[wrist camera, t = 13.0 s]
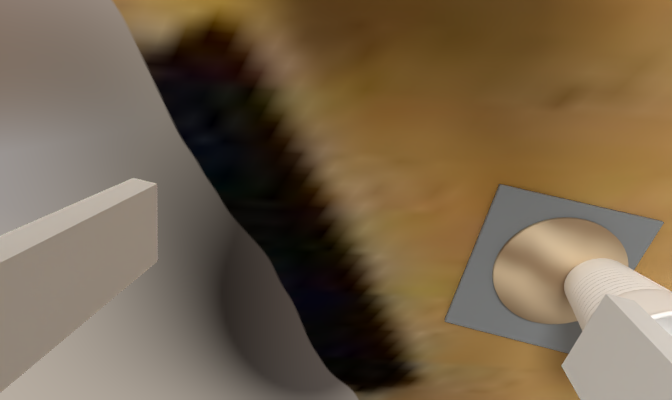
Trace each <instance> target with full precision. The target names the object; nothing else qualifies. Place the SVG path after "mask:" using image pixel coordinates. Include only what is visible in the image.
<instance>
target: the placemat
mask: <svg viewBox="0 0 672 400" xmlns="http://www.w3.org/2000/svg"><path fill="white" fill-rule="evenodd" d="M561 217H572V218H580V219H585V220H589V221H592V222H594V223H597V224H599V225H601V226H603V227H604V228H606V229H607V230H609V231H610V232H611V233H612V234H613V235H615V236H616V237H617V238H618V240H619V241H620V242H621V243H622V245H623V247H624V248H625V251H626V253H627V257H628V267H629V268H631V269H632V270H634V269H635V267H636V266H637V264H638V263H639V261H640V260H641V258H642V256H643V255H644V253H645V252H646V250H647V248H648V247H649V245H650V244H651V242H652V241H653V239H654V237H655V236H656V234H657V233H658V231H659V230H660V228H661V226H662V225H663V223H664V222H662V221H660V220H655V219H651V218H646V217H642V216H638V215H633V214H629V213H625V212H620V211H616V210H612V209H607V208H603V207H598V206H594V205H590V204H585V203H581V202H577V201H572V200H568V199H564V198H559V197H555V196H550V195H546V194H542V193H537V192H533V191H529V190H524V189H520V188H516V187H511V186H507V185H502V184H499V187H498V189H497V191H496V194H495V196H494V199H493V201H492V204H491V206H490V209H489V211H488V214H487V216H486V219H485V221H484V224H483V226H482V228H481V231H480V233H479V236H478V238H477V241H476V243H475V246H474V248H473V251H472V253H471V256H470V258H469V261H468V263H467V265H466V268H465V270H464V273H463V275H462V278H461V280H460V283H459V285H458V288H457V290H456V293H455V295H454V298H453V300H452V302H451V305H450V307H449V310H448V312H447V315H446V317H445V322H448V323H452V324H456V325H460V326H464V327H468V328H471V329H475V330H479V331H483V332H487V333H491V334H495V335H499V336H502V337H506V338H510V339H514V340H518V341H522V342H526V343H530V344H534V345H537V346H541V347H545V348H549V349H553V350H557V351H561V352H565V353H568V354H569V352H570V351H571V349H572V348H573V346H574V344H575V343H576V341H577V339H578V338H579V336H580V335H581V333H582V329H581V327H580V325H579V322H578V321H575V322H570V323H564V324H542V323H537V322H532V321H529V320H526V319H524V318H522V317H519V316H518V315H516V314H514V313H513V312H512V311H510V310H509V309H508V308H507V307H506V306H505V305H504V304H503V303H502V301H501V300H500V298H499V296H498V294H497V292H496V290H495V287H494V284H493V278H492V275H493V266H494V262H495V260H496V257H497V255H498V253H499V251H500V250H501V248H502V247H503V246H504V244H505V243H506V242H507V241H508V240H509V239H510V238H511V237H513V236H514V235H515V234H516V233H518V232H519V231H521V230H522V229H524V228H526V227H528V226H530V225H532V224H534V223H537V222H540V221H543V220H547V219H552V218H561Z"/></svg>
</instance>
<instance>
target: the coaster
mask: <svg viewBox="0 0 672 400" xmlns="http://www.w3.org/2000/svg"><path fill="white" fill-rule="evenodd" d="M597 258H607V259H612V260H615V261H618V262H620V263H622V264H623V265H625V266H627V267H628V257H627V253H626V251H625V248H624V247H623V245H622V243H621V242H620V241H619V240H618V238H617V237H616V236H615V235H613V234H612V233H611V232H610V231H609V230H607V229H606V228H604V227H603V226H601V225H599V224H597V223H594V222H592V221H589V220H585V219H580V218H572V217H561V218H552V219H547V220H543V221H540V222H537V223H534V224H532V225H530V226H528V227H526V228H524V229H522V230H521V231H519V232H518V233H516V234H515V235H514V236H513V237H511V238H510V239H509V240H508V241H507V242H506V243H505V244H504V246H503V247H502V248H501V250H500V251H499V253H498V255H497V257H496V260H495V262H494V266H493V275H492V278H493V284H494V287H495V290H496V292H497V294H498V296H499V298H500V300H501V301H502V303H503V304H504V305H505V306H506V307H507V308H508V309H509V310H510V311H512V312H513V313H514V314H516V315H518V316H519V317H522V318H524V319H526V320H529V321H532V322H537V323H542V324H564V323H570V322H575V321H577V318H576V316H575V314H574V311H573V309H572V307H571V305H570V303H569V301H568V299H567V296H566V294H565V291H564V283H565V279H566V277H567V275H568V274H569V272H570V271H571V270H572V269H573V268H574V267H576V266H577V265H579V264H580V263H583V262H585V261H587V260H591V259H597Z"/></svg>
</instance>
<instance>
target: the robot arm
mask: <svg viewBox="0 0 672 400" xmlns="http://www.w3.org/2000/svg"><path fill="white" fill-rule="evenodd" d="M157 227H158V226H157V184H156V183H152V182H148V181H144V180H140V179H135V178H132V179H129V180H127V181H125V182H123V183H120V184H118V185H116V186H113V187H111V188H109V189H107V190H104V191H102V192H100V193H97V194H95V195H93V196H90V197H88V198H86V199H83V200H81V201H79V202H77V203H74V204H72V205H70V206H67V207H65V208H63V209H60V210H58V211H56V212H54V213H51V214H49V215H47V216H45V217H42V218H40V219H38V220H35V221H33V222H31V223H29V224H26V225H24V226H21V227H19V228H17V229H15V230H12V231H10V232H7V233H5V234H3V235H1V236H0V392H2V391H3V390H4V389H5V388H6V387H8V386H9V385H10V384H11V383H12V382H14V381H15V380H16V379H17V378H18V377H19V376H21V375H22V374H23V373H24V372H25V371H27V370H28V369H29V368H30V367H31V366H33V365H34V364H35V363H36V362H37V361H39V360H40V359H41V358H42V357H44V356H45V355H46V354H47V353H48V352H49V351H51V350H52V349H53V348H54V347H55V346H57V345H58V344H59V343H60V342H61V341H63V340H64V339H65V338H66V337H67V336H69V335H70V334H71V333H72V332H73V331H75V329H77V328H78V327H79V326H81V325H82V324H83V323H84V322H85V321H86V320H88V319H89V318H90V317H91V316H92V315H94V314H95V313H96V312H97V311H98V310H100V309H101V308H102V307H103V306H104V305H106V303H108V302H109V301H110V300H112V299H113V298H114V297H115V296H116V295H118V294H119V293H120V292H121V291H122V290H124V289H125V288H126V287H127V286H128V285H130V284H131V283H132V282H133V281H134V280H135V279H137V278H138V277H139V276H140V275H141V274H143V273H144V272H145V271H146V270H147V269H148V268H150V267H151V266H152V265H153V264H155V263H156V262H157V261H158V237H157V236H158V233H157V232H158V230H157ZM561 366H562V368H563V370H564V372H565V373H566V375H567V377H568V379H569V380H570V382H571V384H572V386H573V387H574V389H575V391H576V393H577V394H578V396H579V398H580V400H672V336H671V335H670V334H669V333H668V332H667V331H665V330H664V329H663V328H662V327H661V326H660V325H659V324H658V323H657V322H656V321H655V320H654V319H653V318H652V317H651V316H650V315H649V314H648V313H647V312H646V311H645V310H644V309H643V308H642V307H641V306H640V305H639V304H637V303H636V302H635V301H634V300H630V299H626V298H622V297H618V296H614V295H610V294H605V296H604V297H603V299H602V300H601V302H600V304H599V305H598V307H597V309H596V310H595V312H594V313H593V315H592V317H591V318H590V320H589V322H588V323H587V325H586V326H585V328H584V330H583V331H582V333H581V335H580V336H579V338H578V339H577V341H576V343H575V344H574V346H573V348H572V349H571V351H570V352H569V354H568V356H567V357H566V359H565V361H564V362H563V364H562V365H561Z"/></svg>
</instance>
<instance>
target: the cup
mask: <svg viewBox="0 0 672 400" xmlns="http://www.w3.org/2000/svg"><path fill="white" fill-rule="evenodd" d="M564 291H565V294H566V296H567V299H568V301H569V303H570V305H571V307H572V309H573V311H574V314H575V316H576V318H577V321H578V322H579V325H580V327H581V329H582V331H583V330H584V328H585V326H586V325H587V323H588V322H589V320H590V318H591V317H592V315H593V313H594V312H595V310H596V309H597V307H598V305H599V304H600V302H601V300H602V299H603V297H604V296H605V294H610V295H614V296H618V297H622V298H626V299H630V300H634V301H635V302H636V303H637V304H639V305H640V306H641V307H642V308H643V309H644V310H645V311H646V312H647V313H648V314H649V315H650V316H651V317H652V318H653V319H654V320H655V321H656V322H657V323H658V324H659V325H660V326H661V327H662V328H663V329H664V330H665V331H667V332H668V333H669V334H670V335H671V336H672V292H671V291H670V290H668V289H666V288H664V287H663V286H661V285H659V284H657V283H655V282H654V281H652V280H650V279H648V278H646V277H645V276H643V275H641V274H639V273H638V272H635V271H634V270H632V269H631V268H629V267H627V266H625V265H623V264H622V263H620V262H618V261H615V260H612V259H607V258H597V259H591V260H587V261H585V262H583V263H580V264H579V265H577V266H576V267H574V268H573V269H572V270H571V271H570V272H569V274H568V275H567V277H566V279H565V283H564Z"/></svg>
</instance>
